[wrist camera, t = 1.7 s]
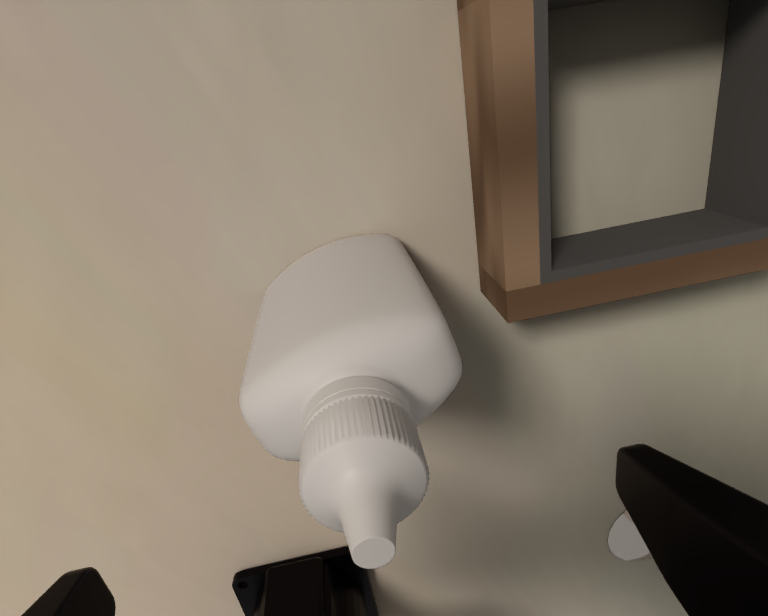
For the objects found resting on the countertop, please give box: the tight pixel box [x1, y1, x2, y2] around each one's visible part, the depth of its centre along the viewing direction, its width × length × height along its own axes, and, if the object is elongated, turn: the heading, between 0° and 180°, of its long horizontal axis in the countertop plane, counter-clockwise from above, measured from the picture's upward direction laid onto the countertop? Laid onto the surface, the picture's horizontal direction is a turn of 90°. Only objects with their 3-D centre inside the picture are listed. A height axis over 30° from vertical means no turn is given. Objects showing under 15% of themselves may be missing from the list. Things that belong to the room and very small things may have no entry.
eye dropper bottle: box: [239, 234, 462, 569], centre depth 13 cm, size 4×6×12 cm
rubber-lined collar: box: [457, 0, 768, 323], centre depth 16 cm, size 11×11×3 cm
